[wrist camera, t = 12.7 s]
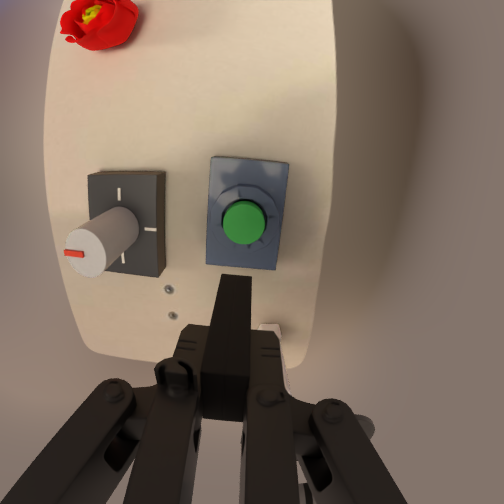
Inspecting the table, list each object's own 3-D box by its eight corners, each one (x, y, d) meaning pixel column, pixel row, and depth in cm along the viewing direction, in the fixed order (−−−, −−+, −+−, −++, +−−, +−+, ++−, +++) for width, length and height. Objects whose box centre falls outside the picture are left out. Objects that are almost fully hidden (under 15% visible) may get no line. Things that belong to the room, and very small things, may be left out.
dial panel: (165, 267, 34) (158, 278, 31) (105, 260, 34) (94, 270, 31) (165, 171, 29) (156, 174, 26) (99, 171, 29) (86, 175, 26)
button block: (274, 262, 33) (276, 277, 30) (208, 256, 33) (202, 271, 29) (286, 162, 29) (291, 165, 25) (213, 156, 29) (208, 157, 25)
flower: (123, -1, 20) (96, -25, 12) (159, 19, 22) (134, -8, 14) (83, 43, 22) (48, 28, 14) (115, 66, 24) (80, 51, 16)
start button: (262, 240, 28) (262, 246, 27) (223, 236, 28) (221, 242, 27) (266, 202, 27) (267, 206, 25) (226, 198, 27) (224, 202, 25)
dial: (138, 207, 28) (101, 231, 20) (140, 248, 30) (107, 282, 22) (102, 205, 28) (60, 228, 20) (105, 244, 29) (68, 276, 22)
